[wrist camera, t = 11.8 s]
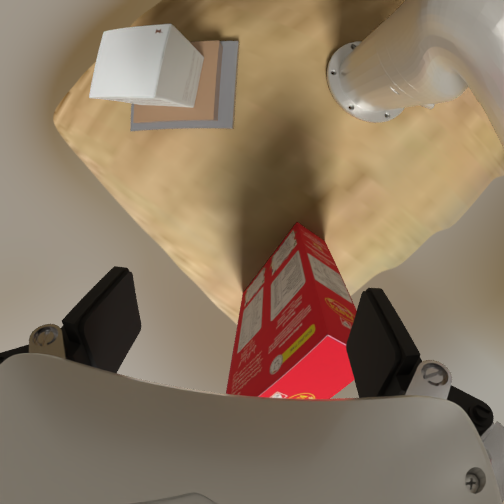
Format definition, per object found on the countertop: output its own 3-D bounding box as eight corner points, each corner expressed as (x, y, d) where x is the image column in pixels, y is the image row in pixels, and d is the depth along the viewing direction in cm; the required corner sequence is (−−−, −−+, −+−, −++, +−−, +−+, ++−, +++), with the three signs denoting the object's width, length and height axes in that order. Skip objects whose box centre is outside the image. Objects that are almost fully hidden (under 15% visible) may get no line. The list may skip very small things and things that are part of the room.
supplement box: (152, 55, 28) (103, 28, 16) (205, 56, 28) (174, 21, 16) (141, 106, 31) (86, 98, 19) (194, 110, 31) (155, 98, 19)
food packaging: (269, 308, 47) (265, 440, 24) (242, 293, 46) (220, 425, 23) (324, 241, 41) (376, 360, 18) (296, 221, 40) (327, 334, 18)
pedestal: (239, 44, 30) (235, 33, 26) (233, 128, 36) (229, 127, 32) (140, 52, 31) (127, 45, 27) (135, 131, 36) (120, 131, 32)
